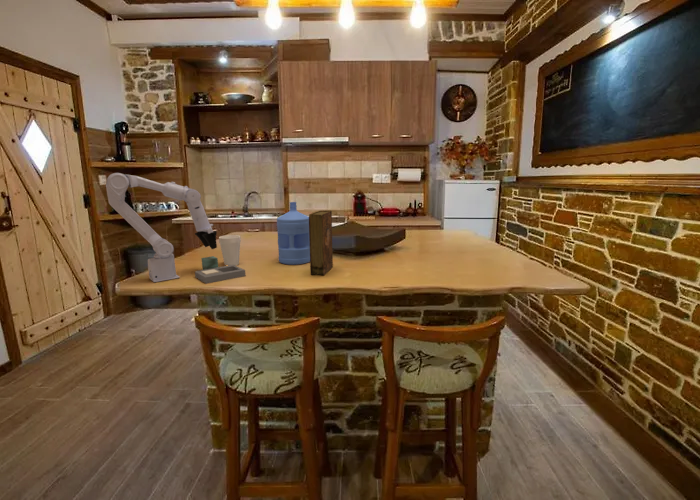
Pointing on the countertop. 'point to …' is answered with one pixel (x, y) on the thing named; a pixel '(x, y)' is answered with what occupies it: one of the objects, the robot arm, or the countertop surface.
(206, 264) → the block
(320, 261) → the book
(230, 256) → the foam cup
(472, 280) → the countertop surface
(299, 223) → the water jug
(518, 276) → the countertop surface
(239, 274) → the frame
